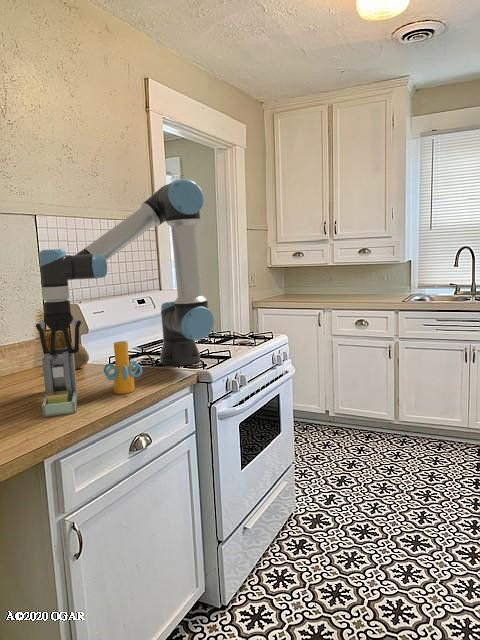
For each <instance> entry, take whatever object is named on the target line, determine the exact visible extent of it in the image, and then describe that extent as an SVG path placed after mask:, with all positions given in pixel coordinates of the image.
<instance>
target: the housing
mask: <svg viewBox="0 0 480 640" xmlns="http://www.w3.org/2000/svg"><path fill="white" fill-rule="evenodd" d="M54 364H64V371H65V376H64V377H57V378H53V369H52V368H53V365H54ZM42 369H43V372H42V373H43V381H44V389H45V396H46V395H48V394H49V392H57V391H66V390H69V400H70V402H72V398H73V392H76V396H77V400H78V397H79V395H78V386H77V385H78V383H77V375H76V374H77V373H76V369H75V362H74V353H70V354H68V352H63V354H60V355H50V353H49V354H44V353H43V358H42Z"/></svg>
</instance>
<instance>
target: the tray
mask: <svg viewBox="0 0 480 640" xmlns="http://www.w3.org/2000/svg"><path fill="white" fill-rule="evenodd" d="M77 405H78V399H77V396H76V392H73V398H72V402H63V403H55V404H48V400H47V395H46V394H45V397H44V400H43V402H42V404H41V410H42V417H43V418H45V417H46V418H47V417H54V416H63V415H70V414H76V412H77Z"/></svg>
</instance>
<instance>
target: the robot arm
mask: <svg viewBox="0 0 480 640" xmlns="http://www.w3.org/2000/svg"><path fill="white" fill-rule="evenodd" d="M204 202H205V195H204V193H203V190H202V188H201V187H200V186H199V185H198V184H197V183H196V182H195V181H193V180H191V179H186V178H183V179H176V180H174V181H173V182H170V183H168V184H164V185H163V186H162V187H160V188H159V189H158V190H156V191H155V192H154V194H152V195H151V196H149V198H147V199H146V200H144V201H143V202H142V203H141V205H140V208H139V209H138V210H136V211H135V212H132V214H130V215H129V216H127V217H126V218H125V219H123V220H121V221H120V222H119V223H117V225H115V226H114V227H112V228H111V229H109V230H108V231H106V232H105V233H104V234H102V235H101V236H100V237H98V238H97V239H95V240H93V242H92V243H90V244H88V245H87V246H86V247H84V248H83V249H82V250H80V251H79V252H77V253H76V254H73V255H71V254H70V255H67V253H66V251H65V249H64V248H58V249H57V248H56V249H55V248H54V249H53V248H52V249H42V250H40V252H39V255H38V256H39V265H38V266H39V270H40V271H39V272H40V278H41V279H40V280H41V289H42V291H41V292H42V299H43V301H44V303H43V308H44V309H43V310H44V318H43V320H42V321H40V322H37V323H36V324H35V328H36V329H37V330H38V333H39V338H40V342H41V347H42V351H43V355H44V354H49V353H50V355H55V349H56V342H57V340H56V339H57V332H58V331H62V333H63V336H64V339H65V340H64V341H65V344H66V346H67V348H68V352H69V354H70V353H76V352H78V351H79V344H80V326H81V325H82V320H81V319H77V318H74V316H73V315H72V313H71V312H72V309H71V301H70V300H69V299H70V290H69V288H70V287H69V281H72V280H74V281H75V280H90V279H91V280H92V279H93V280H94V279H95V280H97V279H102V278H103V279H104V278H105V277H106V276H107V273H108V262H107V261H108V260H109V259H110V258H112V257H113V256H114V255H117V253H119V252H120V251H122V250H123V249H124V248H126V247H127V246H128V245H130V244H131V243H132V242H134V241H135V240H137V239H138V238H140V237H141V236H142V235H143V234H145V233H146V232H147V231H149V230H150V229H152V228H153V227H159V226H161V225H162V224H164V223H165V222H166V224H168V226H170V228H171V237H172V239H171V240H172V249H173V260H174V261H173V262H174V270H175V281H176V290H177V298H176V299H175V300H174V301H167V302H163V303H162V304H161V305H160V307H161V309H160V310H161V311H160V315H161V325H162V326H161V327H162V341H163V343H162V348H161V352H160V356H159V361H160V365H163V366H172V367H179V366H181V367H182V366H189V365H193V364H196V362H197V363H198V361H199V362H201V354H200V351H199V348H198V346H197V343H196V341H200V340H203V339H205V338H207V337H208V336H209V335H210V334H211V333H212V331H213V329H214V327H215V316H214V315H213V313H212V311H211V309H209V304H208V302H209V301H208V298H207V297H205V295H204V294H203V286H202V285H203V284H202V276H201V273H202V272H201V262H200V254H199V253H200V252H199V251H200V250H199V241H198V231H197V230H198V229H197V225H198V224H199V222H200V221H201V213H200V210H201V209H202V208H203V206H204ZM72 323H73V326H74V327H75V328H74V342H75V348H74V349H73V348H72V344H71V343H72V341H71V337H70V333H69V329H68V328H69V327H70V325H71V324H72ZM45 325H46V326H47V327H48V328H49V330H51V332H50V348H49V347H48V342H47V339H46V333H45V328H46V327H45ZM49 349H50V350H49Z"/></svg>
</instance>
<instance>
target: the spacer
mask: <svg viewBox="0 0 480 640" xmlns="http://www.w3.org/2000/svg"><path fill="white" fill-rule="evenodd" d="M47 400H48V404H55V403H63V402H70V400H69V390H66V391H57V392H49V394H48V395H47Z"/></svg>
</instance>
